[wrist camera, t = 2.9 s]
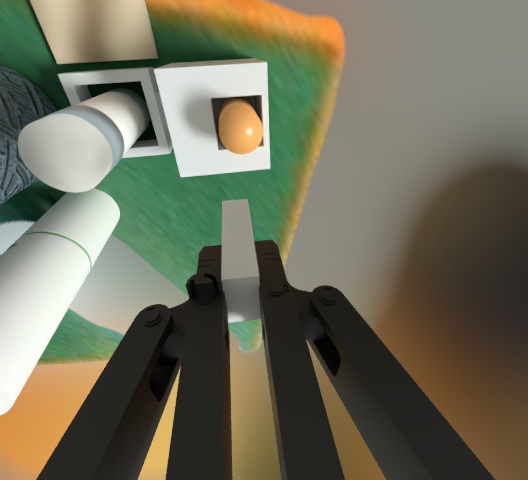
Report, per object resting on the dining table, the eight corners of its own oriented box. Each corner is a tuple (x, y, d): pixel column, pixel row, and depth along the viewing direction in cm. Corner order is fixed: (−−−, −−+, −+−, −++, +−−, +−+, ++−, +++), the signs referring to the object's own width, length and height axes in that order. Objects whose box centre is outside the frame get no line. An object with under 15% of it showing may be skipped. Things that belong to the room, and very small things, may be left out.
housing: (105, 154, 33) (69, 188, 25) (70, 69, 27) (9, 77, 19) (258, 140, 35) (270, 168, 27) (253, 58, 29) (266, 62, 21)
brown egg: (221, 137, 27) (222, 156, 22) (216, 97, 25) (215, 109, 20) (255, 134, 27) (264, 152, 22) (253, 95, 25) (261, 106, 20)
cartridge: (113, 136, 32) (43, 196, 19) (95, 89, 29) (-3, 122, 16) (155, 133, 32) (115, 189, 20) (142, 85, 29) (84, 115, 16)
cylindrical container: (50, 202, 35) (-164, 400, 16) (89, 176, 34) (-88, 356, 14) (94, 238, 40) (-31, 429, 20) (130, 216, 38) (37, 397, 18)
